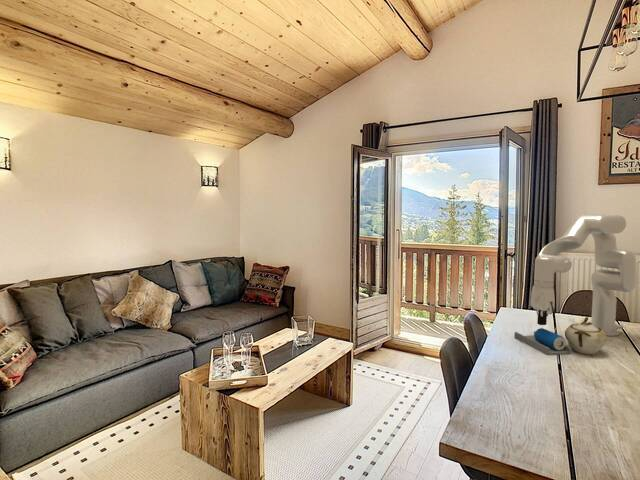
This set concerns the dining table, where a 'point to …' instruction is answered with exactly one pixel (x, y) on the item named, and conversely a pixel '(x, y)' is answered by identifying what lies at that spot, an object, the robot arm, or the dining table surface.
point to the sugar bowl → (585, 337)
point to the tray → (541, 345)
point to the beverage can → (550, 339)
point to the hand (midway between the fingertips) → (541, 324)
